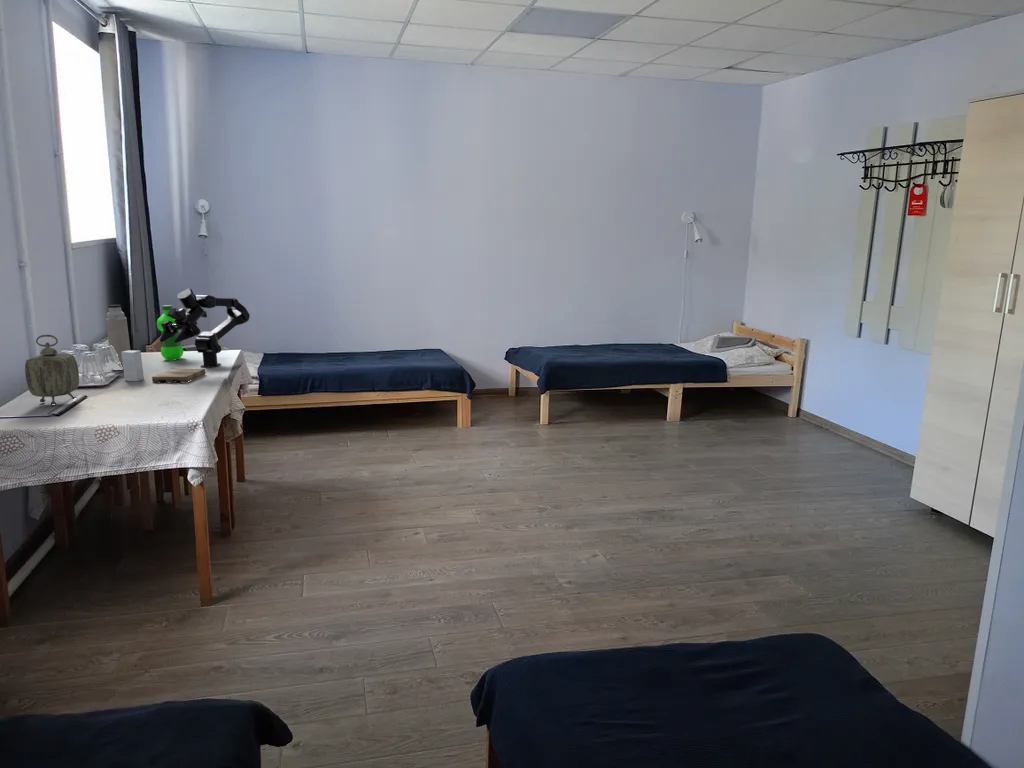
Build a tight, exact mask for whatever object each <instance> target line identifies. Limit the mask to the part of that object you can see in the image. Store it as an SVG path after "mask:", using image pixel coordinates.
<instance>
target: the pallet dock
mask: <svg viewBox="0 0 1024 768" xmlns="http://www.w3.org/2000/svg"><path fill="white" fill-rule="evenodd" d="M205 374H206V368H187V367H186V368H183V367H182V368H175V367H174V368H169V369H167V370H165V371H163V372H160V373H158V374H155V375H152V377H151V378H152V383H153V382H160V381H162V380H164V381H165V382H174V383H176V382H178V381H179V383H180V382H188V381H190V380H192V381H194V380H196V379H195V378H197V379H199V378H201V377H203V376H205ZM202 375H203V376H202ZM200 376H201V377H200ZM198 377H199V378H198ZM193 379H194V380H193ZM177 380H178V381H177ZM175 381H176V382H175ZM162 382H163V381H162ZM190 382H191V381H190ZM160 383H161V382H160ZM188 383H189V382H188Z"/></svg>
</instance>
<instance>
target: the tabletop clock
mask: <svg viewBox="0 0 1024 768" xmlns="http://www.w3.org/2000/svg"><path fill="white" fill-rule="evenodd" d="M46 337H49V338H52V339H53V338H54V340H55V342H54V343H52V344H50V342H46V343H45V344H40V343H39V342H38V340H39V339H40V338H46ZM58 342H59V340H58V338H57V337H56V336H55V335H52V334H41V335H39V336H38V337H36V339H35V343H36V344H37V345H38V346H40V347H43V348H42V349H41V351H40V354H38V355H35V356H33V357H31V358H28V359H26V360H25V364H24V372H25V374H24V375H25V381H26V384H27V388H28V391H29V392H30V394H31V395H32V396H35V397H40V399H39V402H40V403H41V402H44V403H45V402H46V399H45V398H46V397H48V398H50V397H51V402H50V405H51V406H52V404H56V405H57V402H56V401H55V397H62V396H67V395H68V396H69V397H70V398H72V399H74V398H77V397H76V396H74V395H73V394H72V392H74V391H76V390H77V389H78V388H79V386H80V385H79V384H80V371H79V366H78V363H77V360H76V358H75V356H74V355H73V354H71V353H67V352H58V351H57V350H56V349H55V348H54V346H56V345H57V344H58Z"/></svg>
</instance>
